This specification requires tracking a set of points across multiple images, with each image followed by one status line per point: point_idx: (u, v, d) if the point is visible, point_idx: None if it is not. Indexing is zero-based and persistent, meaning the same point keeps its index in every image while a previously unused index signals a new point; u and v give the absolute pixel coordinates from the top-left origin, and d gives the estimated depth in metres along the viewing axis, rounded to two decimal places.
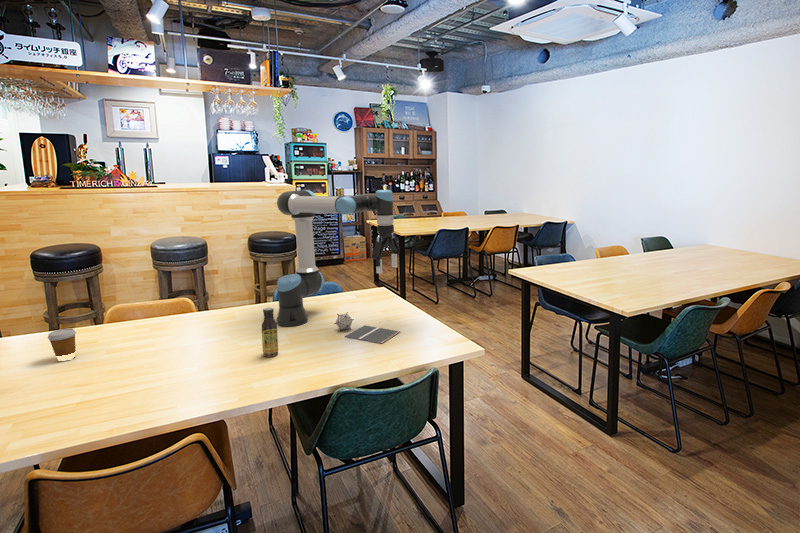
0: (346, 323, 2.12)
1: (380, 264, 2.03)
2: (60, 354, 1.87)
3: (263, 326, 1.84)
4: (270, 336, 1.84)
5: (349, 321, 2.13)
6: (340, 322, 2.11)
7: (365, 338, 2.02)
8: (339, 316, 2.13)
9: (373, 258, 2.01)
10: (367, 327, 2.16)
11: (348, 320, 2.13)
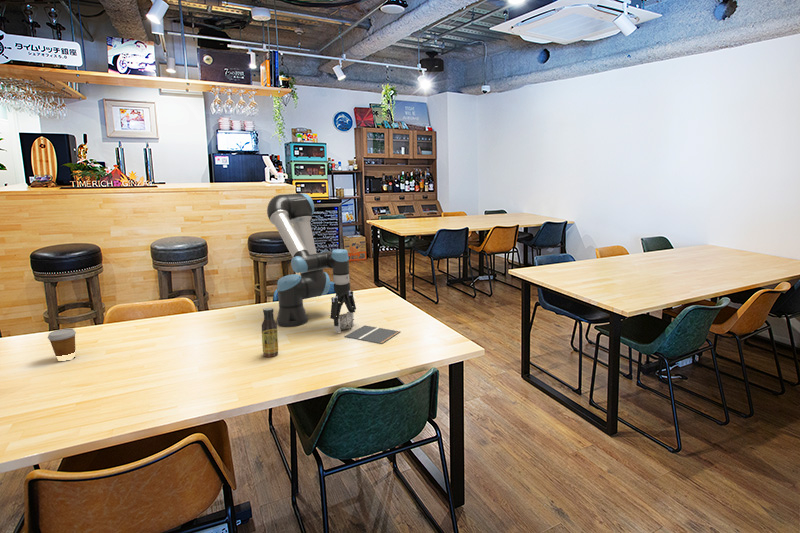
0: (346, 323, 2.12)
1: (338, 324, 2.09)
2: (60, 354, 1.87)
3: (263, 326, 1.84)
4: (270, 336, 1.84)
5: (349, 321, 2.13)
6: (340, 322, 2.11)
7: (365, 338, 2.02)
8: (339, 316, 2.13)
9: (331, 318, 2.07)
10: (367, 327, 2.16)
11: (348, 320, 2.13)
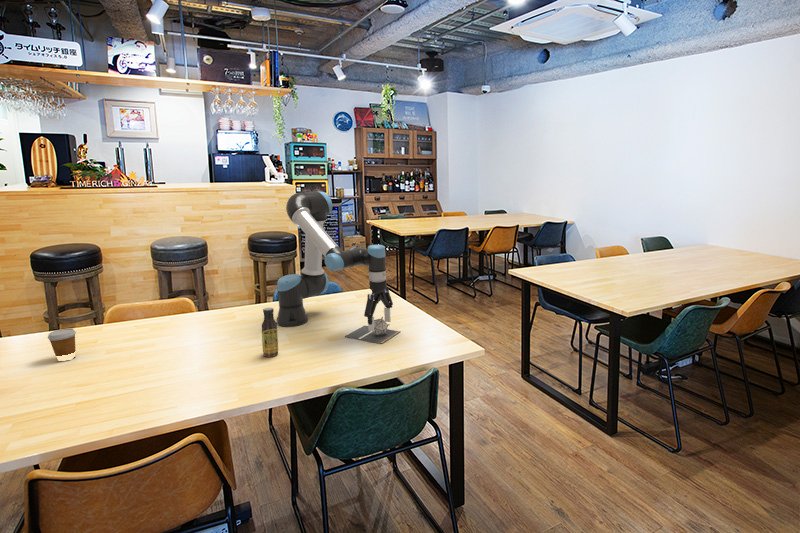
0: (382, 328, 2.02)
1: (372, 322, 1.97)
2: (60, 354, 1.87)
3: (263, 326, 1.84)
4: (270, 336, 1.84)
5: (385, 326, 2.03)
6: (376, 327, 2.01)
7: (365, 338, 2.02)
8: (374, 321, 2.03)
9: (365, 316, 1.95)
10: (367, 327, 2.16)
11: (384, 325, 2.03)
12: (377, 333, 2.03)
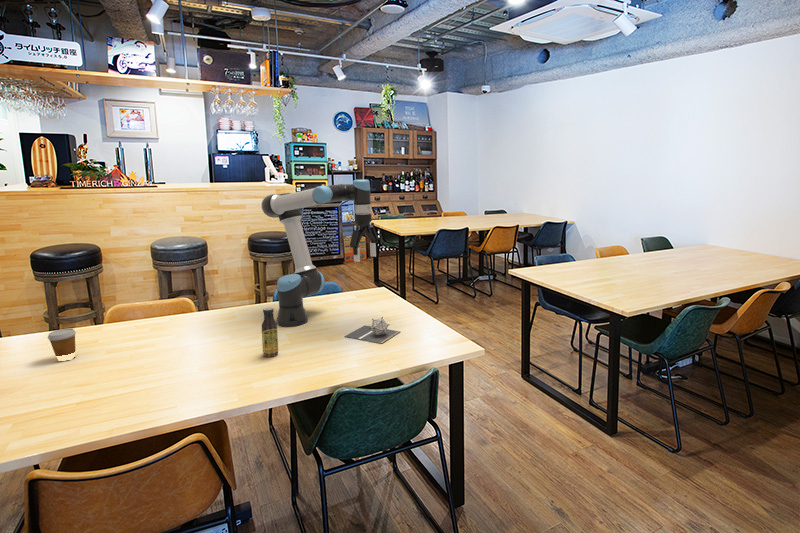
0: (382, 328, 2.02)
1: (357, 252, 2.06)
2: (60, 354, 1.87)
3: (263, 326, 1.84)
4: (270, 336, 1.84)
5: (385, 326, 2.03)
6: (376, 327, 2.01)
7: (365, 338, 2.02)
8: (374, 321, 2.03)
9: (350, 246, 2.04)
10: (367, 327, 2.16)
11: (384, 325, 2.03)
12: (377, 333, 2.03)
